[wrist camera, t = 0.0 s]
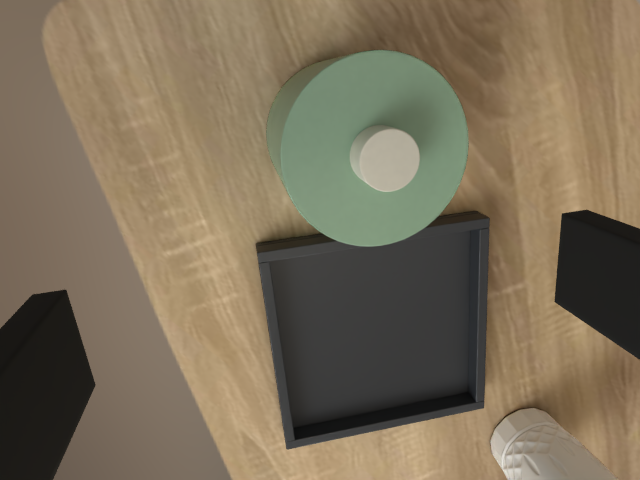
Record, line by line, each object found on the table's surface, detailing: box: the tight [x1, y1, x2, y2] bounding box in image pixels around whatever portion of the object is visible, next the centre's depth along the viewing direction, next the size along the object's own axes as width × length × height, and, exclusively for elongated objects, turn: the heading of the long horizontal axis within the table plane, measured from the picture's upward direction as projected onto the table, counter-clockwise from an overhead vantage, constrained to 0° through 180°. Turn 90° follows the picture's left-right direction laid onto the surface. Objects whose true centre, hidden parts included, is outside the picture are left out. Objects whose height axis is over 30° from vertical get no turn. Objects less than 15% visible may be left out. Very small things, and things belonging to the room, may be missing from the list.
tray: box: [256, 211, 490, 449], centre depth 38 cm, size 18×18×2 cm
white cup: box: [490, 408, 620, 480], centre depth 41 cm, size 8×8×10 cm
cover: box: [266, 50, 469, 246], centre depth 28 cm, size 10×10×12 cm
